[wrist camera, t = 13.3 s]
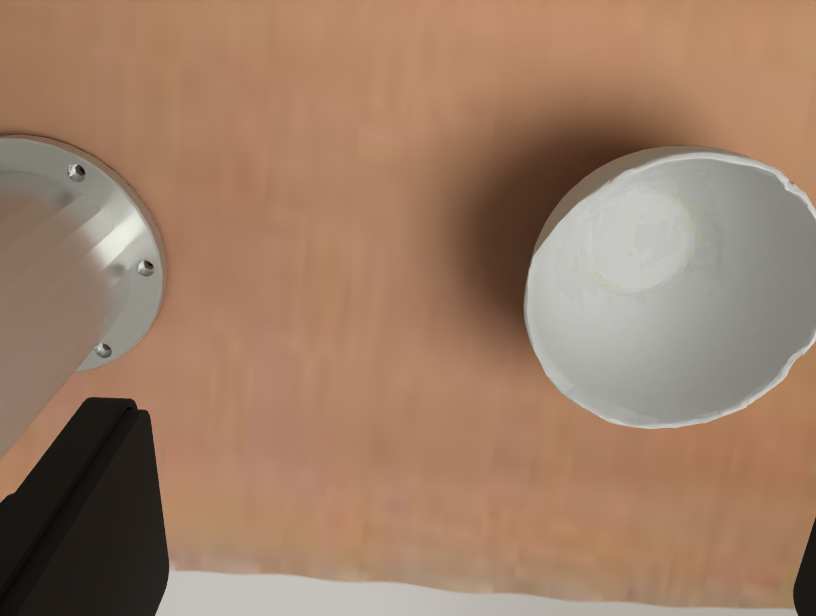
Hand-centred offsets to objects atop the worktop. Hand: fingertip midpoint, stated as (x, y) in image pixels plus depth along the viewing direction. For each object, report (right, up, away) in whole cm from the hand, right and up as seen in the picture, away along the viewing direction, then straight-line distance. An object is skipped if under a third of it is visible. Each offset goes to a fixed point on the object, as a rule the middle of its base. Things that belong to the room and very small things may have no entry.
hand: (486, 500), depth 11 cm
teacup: (+11, +6, +28) cm, 31 cm away
